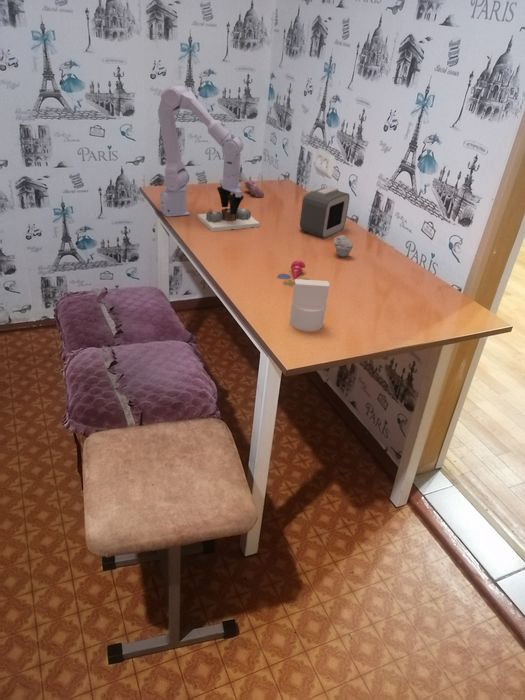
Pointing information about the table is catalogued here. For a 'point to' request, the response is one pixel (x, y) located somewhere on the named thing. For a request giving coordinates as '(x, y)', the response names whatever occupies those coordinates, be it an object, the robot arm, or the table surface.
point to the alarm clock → (324, 211)
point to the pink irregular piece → (253, 188)
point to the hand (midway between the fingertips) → (229, 210)
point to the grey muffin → (342, 245)
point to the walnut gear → (228, 215)
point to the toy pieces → (293, 272)
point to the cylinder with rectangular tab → (309, 304)
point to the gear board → (217, 224)
